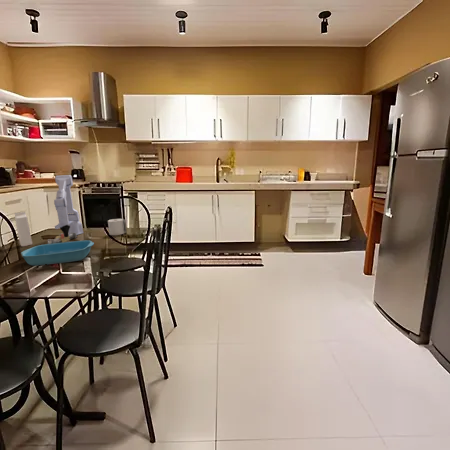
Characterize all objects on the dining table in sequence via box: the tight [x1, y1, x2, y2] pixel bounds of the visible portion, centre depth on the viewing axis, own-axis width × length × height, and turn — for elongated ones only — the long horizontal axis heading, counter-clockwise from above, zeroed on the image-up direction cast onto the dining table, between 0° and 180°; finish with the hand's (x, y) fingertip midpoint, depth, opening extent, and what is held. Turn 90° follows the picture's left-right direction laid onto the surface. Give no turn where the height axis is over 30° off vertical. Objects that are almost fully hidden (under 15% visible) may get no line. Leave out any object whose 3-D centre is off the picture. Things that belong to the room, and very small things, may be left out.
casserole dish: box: [20, 239, 95, 266], centre depth 175 cm, size 37×22×7 cm, turn 101°
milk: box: [14, 211, 33, 247], centre depth 207 cm, size 6×6×22 cm
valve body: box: [47, 232, 78, 244], centre depth 213 cm, size 20×6×4 cm, turn 156°
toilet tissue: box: [107, 218, 128, 236], centre depth 227 cm, size 11×12×10 cm
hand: (66, 236), depth 206 cm, fingers closed, pressing on lever
